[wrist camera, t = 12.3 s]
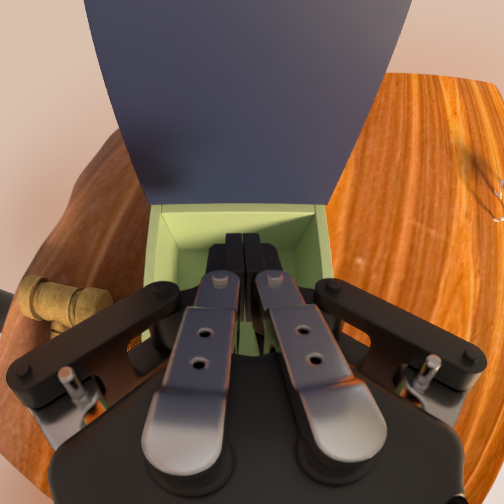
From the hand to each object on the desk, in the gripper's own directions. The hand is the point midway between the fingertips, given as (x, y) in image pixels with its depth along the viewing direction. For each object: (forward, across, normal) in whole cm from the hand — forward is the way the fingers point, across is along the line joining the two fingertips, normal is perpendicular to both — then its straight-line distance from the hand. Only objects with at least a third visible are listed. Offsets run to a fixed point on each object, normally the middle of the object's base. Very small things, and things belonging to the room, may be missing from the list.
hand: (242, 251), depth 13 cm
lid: (+2, 0, +7) cm, 7 cm away
